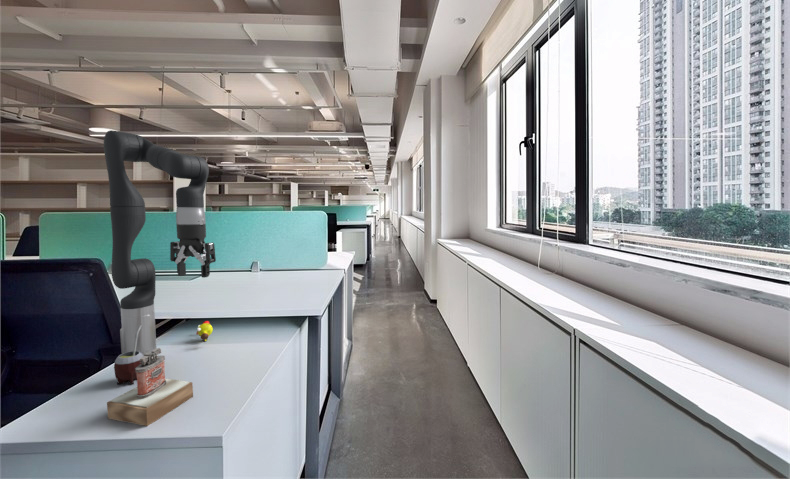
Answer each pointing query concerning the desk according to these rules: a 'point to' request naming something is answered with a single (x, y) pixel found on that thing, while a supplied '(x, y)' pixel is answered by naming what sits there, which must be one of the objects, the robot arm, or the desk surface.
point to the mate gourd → (128, 364)
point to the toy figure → (204, 330)
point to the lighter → (150, 374)
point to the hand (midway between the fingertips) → (193, 276)
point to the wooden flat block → (149, 403)
